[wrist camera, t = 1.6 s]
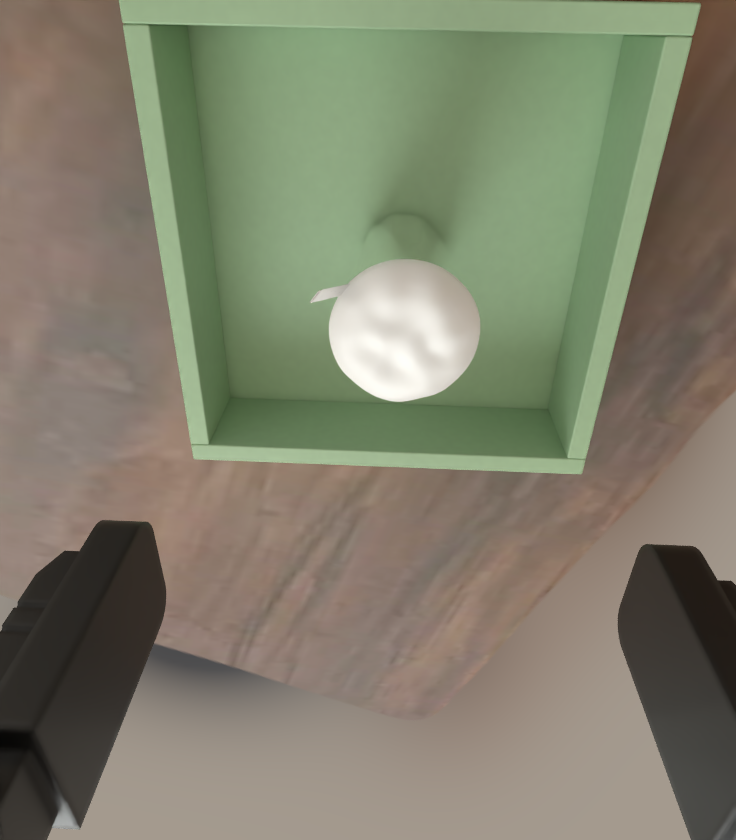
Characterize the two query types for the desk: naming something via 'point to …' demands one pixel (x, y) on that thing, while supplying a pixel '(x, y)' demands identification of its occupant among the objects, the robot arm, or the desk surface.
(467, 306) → the milkshake
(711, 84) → the desk surface
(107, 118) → the desk surface
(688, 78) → the desk surface
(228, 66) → the tote
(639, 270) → the desk surface
